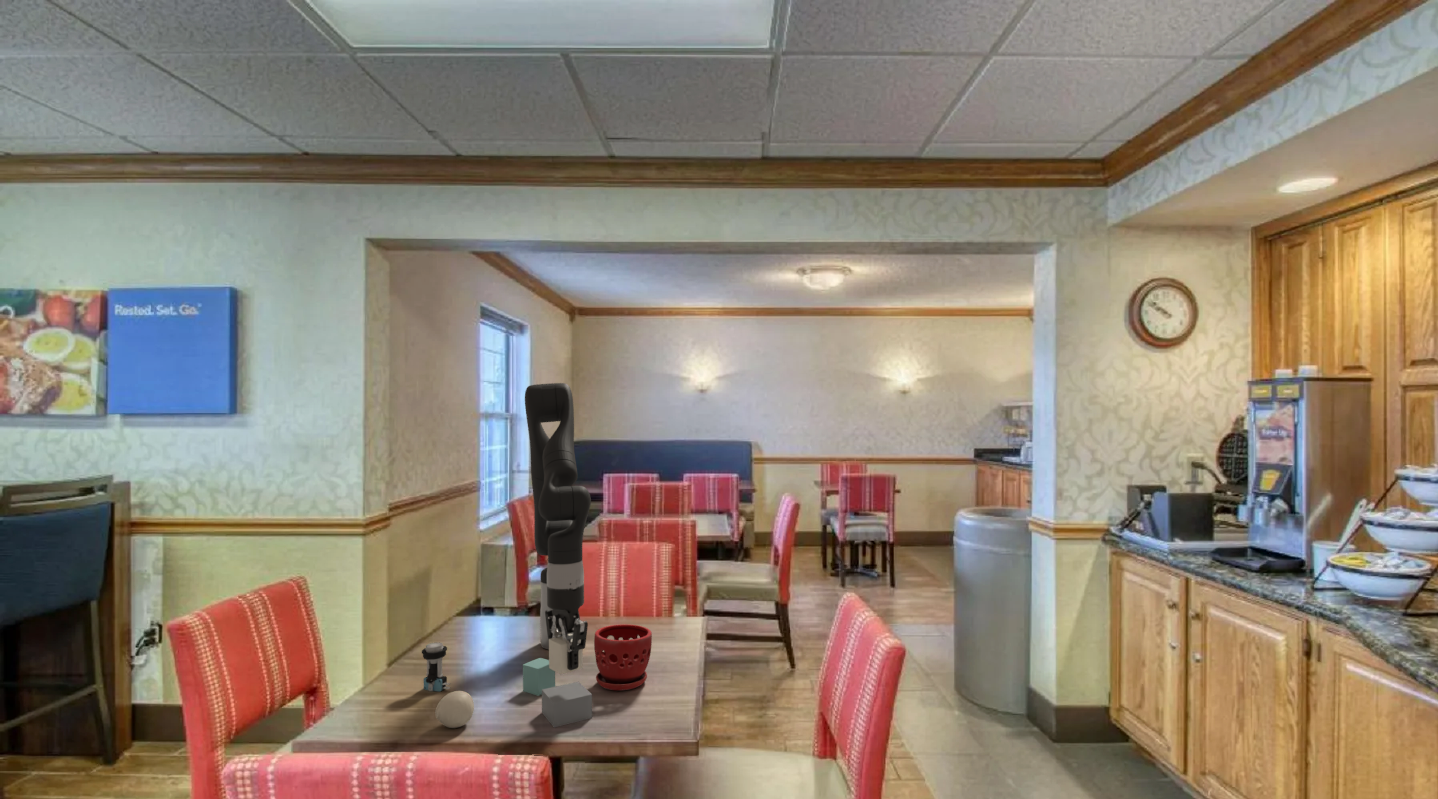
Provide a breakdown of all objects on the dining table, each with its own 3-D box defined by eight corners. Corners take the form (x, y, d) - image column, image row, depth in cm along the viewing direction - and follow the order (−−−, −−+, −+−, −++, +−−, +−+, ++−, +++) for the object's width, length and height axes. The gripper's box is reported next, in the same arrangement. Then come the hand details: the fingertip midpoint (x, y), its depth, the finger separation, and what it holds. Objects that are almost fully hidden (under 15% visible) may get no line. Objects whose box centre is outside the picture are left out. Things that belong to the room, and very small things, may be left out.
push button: (457, 686, 160) (456, 642, 160) (441, 695, 155) (441, 650, 155) (432, 683, 162) (432, 640, 162) (416, 692, 157) (416, 647, 157)
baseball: (438, 720, 142) (438, 687, 142) (475, 716, 144) (475, 684, 144) (432, 735, 136) (432, 701, 136) (471, 731, 137) (471, 697, 137)
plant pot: (627, 699, 152) (627, 644, 152) (582, 687, 159) (582, 634, 159) (663, 679, 163) (662, 627, 163) (619, 668, 170) (619, 619, 170)
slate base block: (541, 713, 146) (541, 689, 146) (578, 704, 150) (578, 681, 150) (553, 728, 139) (553, 703, 139) (592, 718, 143) (591, 694, 143)
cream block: (549, 668, 144) (548, 639, 145) (570, 662, 148) (570, 633, 148) (560, 674, 141) (560, 644, 141) (582, 668, 144) (582, 639, 144)
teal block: (523, 691, 157) (522, 664, 157) (540, 683, 161) (539, 657, 161) (538, 696, 154) (538, 668, 154) (555, 688, 158) (555, 661, 158)
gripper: (532, 579, 147) (533, 660, 147) (566, 592, 137) (567, 680, 136) (564, 574, 152) (565, 652, 152) (599, 585, 142) (600, 670, 141)
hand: (566, 664), depth 144 cm, fingers closed on cream block, 5 cm apart
